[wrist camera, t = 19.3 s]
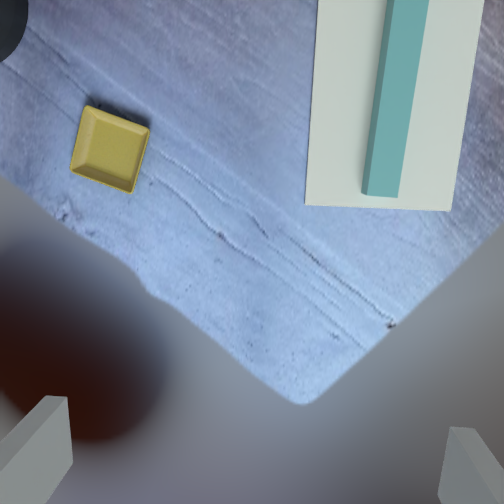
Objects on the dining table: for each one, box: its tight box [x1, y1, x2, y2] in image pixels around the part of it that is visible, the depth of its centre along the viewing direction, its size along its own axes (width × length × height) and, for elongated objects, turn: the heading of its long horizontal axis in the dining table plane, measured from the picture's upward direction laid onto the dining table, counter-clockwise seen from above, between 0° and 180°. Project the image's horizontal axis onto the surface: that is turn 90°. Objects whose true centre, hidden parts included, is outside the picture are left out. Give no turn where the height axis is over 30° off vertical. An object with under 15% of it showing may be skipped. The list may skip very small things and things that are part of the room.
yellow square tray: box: [70, 105, 150, 194], centre depth 49 cm, size 9×9×2 cm
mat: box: [305, 0, 484, 211], centre depth 45 cm, size 28×18×1 cm, turn 178°
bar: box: [361, 0, 429, 198], centre depth 43 cm, size 24×4×4 cm, turn 176°
